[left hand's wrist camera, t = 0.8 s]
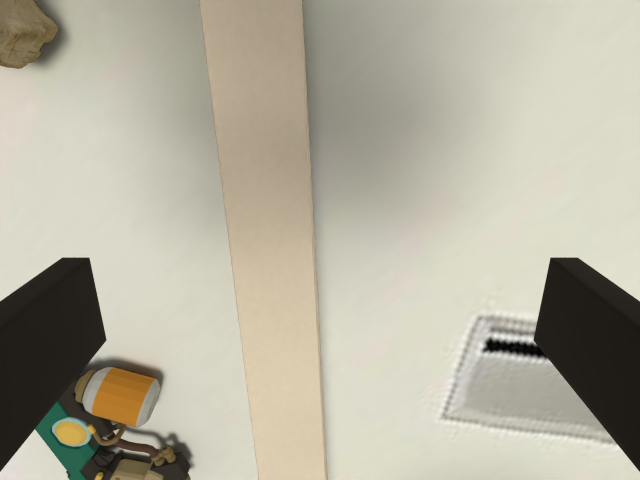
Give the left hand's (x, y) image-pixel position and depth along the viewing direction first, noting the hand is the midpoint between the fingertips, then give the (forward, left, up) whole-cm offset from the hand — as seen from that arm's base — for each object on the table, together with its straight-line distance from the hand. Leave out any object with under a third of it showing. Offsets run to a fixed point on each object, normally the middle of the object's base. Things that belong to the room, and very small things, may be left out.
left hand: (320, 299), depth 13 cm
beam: (+15, 0, -23) cm, 27 cm away
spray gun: (+28, -16, -23) cm, 40 cm away
